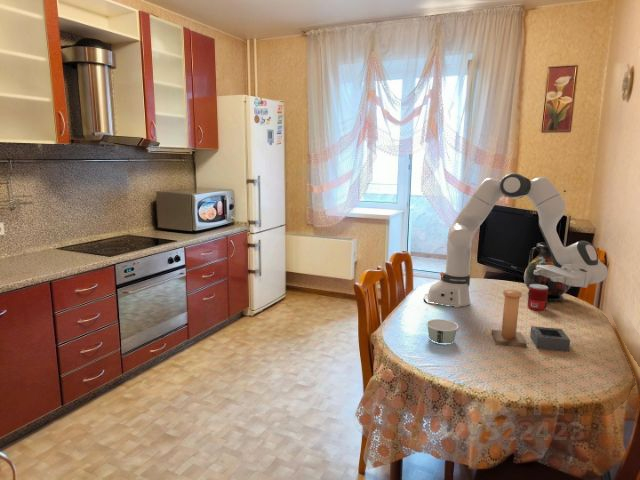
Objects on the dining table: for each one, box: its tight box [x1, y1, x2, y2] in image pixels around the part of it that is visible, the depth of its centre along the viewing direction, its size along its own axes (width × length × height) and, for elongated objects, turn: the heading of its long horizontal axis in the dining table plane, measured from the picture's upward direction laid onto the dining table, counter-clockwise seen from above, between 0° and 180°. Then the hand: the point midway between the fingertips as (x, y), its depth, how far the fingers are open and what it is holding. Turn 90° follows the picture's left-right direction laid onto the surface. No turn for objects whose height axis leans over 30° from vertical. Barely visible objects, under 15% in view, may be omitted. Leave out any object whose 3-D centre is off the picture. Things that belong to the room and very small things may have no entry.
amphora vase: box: [523, 242, 571, 303], centre depth 219 cm, size 22×22×28 cm
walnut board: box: [491, 329, 528, 348], centre depth 170 cm, size 11×11×2 cm
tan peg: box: [501, 289, 523, 339], centre depth 168 cm, size 6×6×18 cm
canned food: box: [527, 284, 548, 312], centre depth 206 cm, size 8×8×11 cm
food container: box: [426, 318, 459, 343], centre depth 169 cm, size 12×12×6 cm
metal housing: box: [529, 326, 571, 352], centre depth 166 cm, size 11×11×4 cm
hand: (543, 275), depth 175 cm, fingers open, 8 cm apart
